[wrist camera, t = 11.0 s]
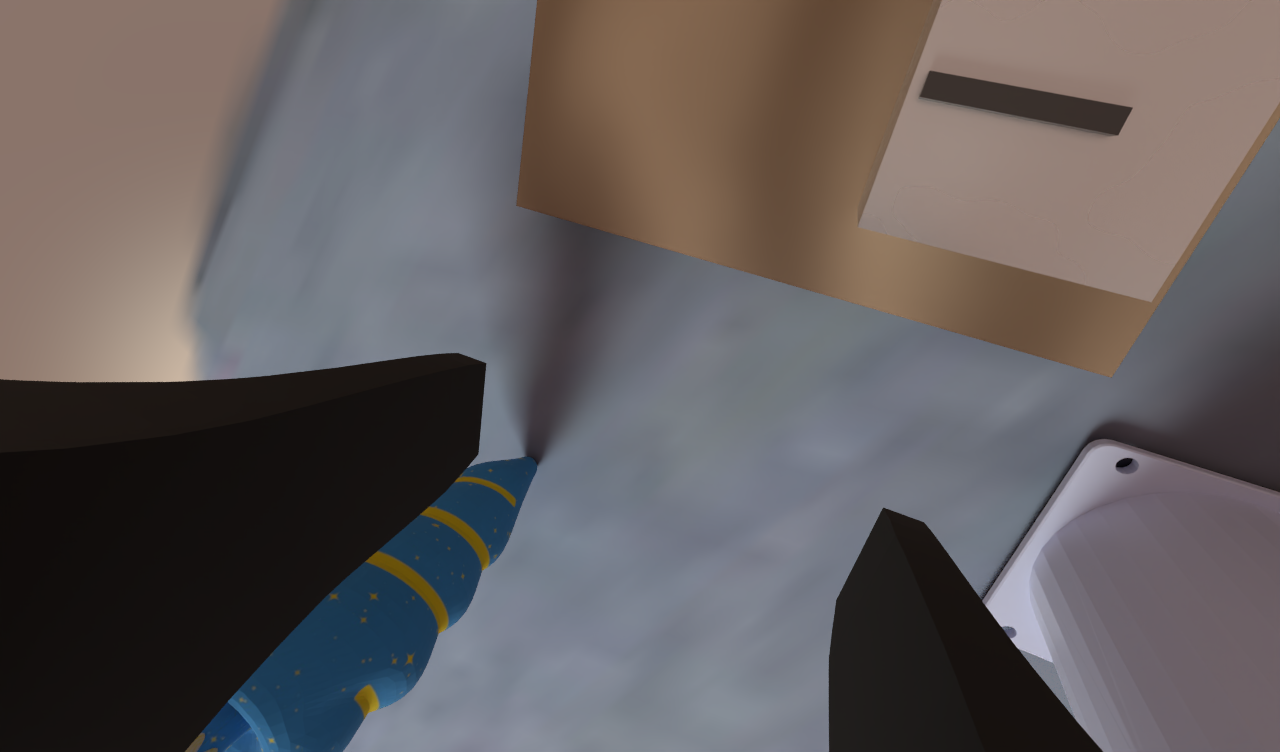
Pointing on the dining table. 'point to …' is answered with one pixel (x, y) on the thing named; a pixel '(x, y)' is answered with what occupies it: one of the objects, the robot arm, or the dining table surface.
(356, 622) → the ornament
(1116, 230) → the beige cube
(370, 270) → the dining table surface
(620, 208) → the board
